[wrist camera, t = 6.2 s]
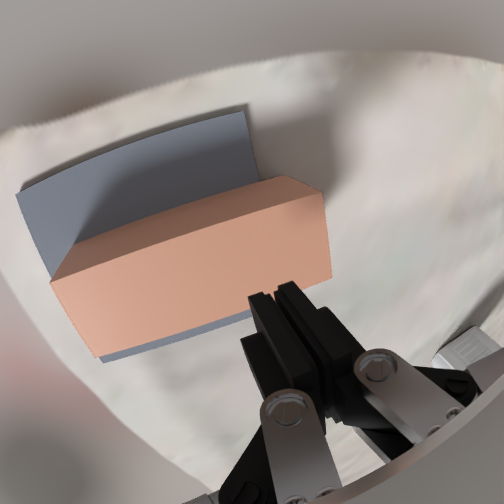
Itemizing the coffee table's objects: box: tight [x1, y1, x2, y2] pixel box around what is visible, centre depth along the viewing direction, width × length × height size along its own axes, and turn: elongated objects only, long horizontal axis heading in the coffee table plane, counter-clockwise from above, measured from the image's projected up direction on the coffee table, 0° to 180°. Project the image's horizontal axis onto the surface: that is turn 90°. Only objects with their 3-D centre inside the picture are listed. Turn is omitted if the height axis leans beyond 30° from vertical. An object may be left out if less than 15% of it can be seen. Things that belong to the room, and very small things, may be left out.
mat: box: [16, 111, 260, 363], centre depth 19 cm, size 15×14×1 cm
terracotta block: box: [49, 175, 332, 358], centre depth 17 cm, size 5×5×14 cm
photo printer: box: [432, 326, 502, 371], centre depth 31 cm, size 10×4×12 cm, turn 100°
